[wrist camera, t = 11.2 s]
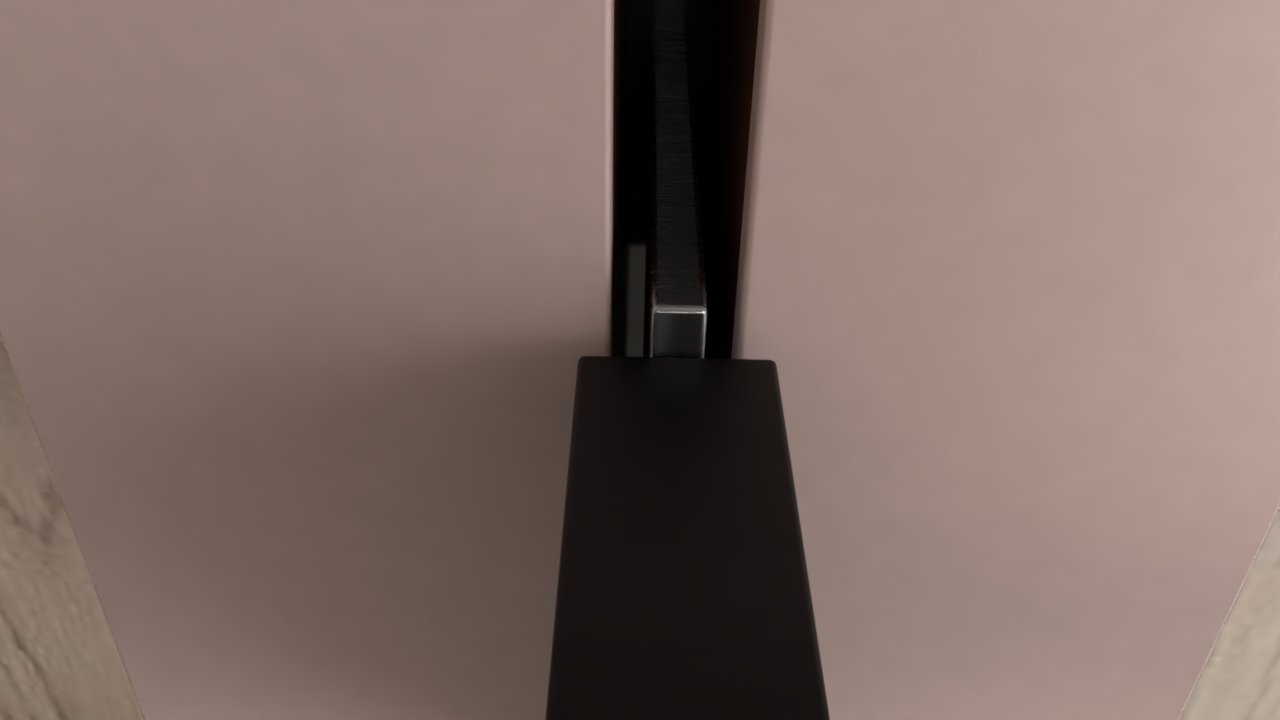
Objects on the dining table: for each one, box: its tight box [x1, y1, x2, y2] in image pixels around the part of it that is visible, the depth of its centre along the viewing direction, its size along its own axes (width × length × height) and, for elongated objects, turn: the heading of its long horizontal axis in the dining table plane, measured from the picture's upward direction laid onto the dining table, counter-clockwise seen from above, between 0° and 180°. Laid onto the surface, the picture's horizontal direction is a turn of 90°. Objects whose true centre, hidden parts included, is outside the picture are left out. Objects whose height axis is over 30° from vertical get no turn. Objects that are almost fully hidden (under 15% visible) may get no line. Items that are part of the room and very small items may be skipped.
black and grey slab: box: [545, 31, 830, 720], centre depth 13 cm, size 8×2×13 cm, turn 179°
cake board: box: [623, 0, 716, 357], centre depth 17 cm, size 17×17×1 cm
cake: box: [0, 0, 1280, 720], centre depth 14 cm, size 13×13×7 cm
